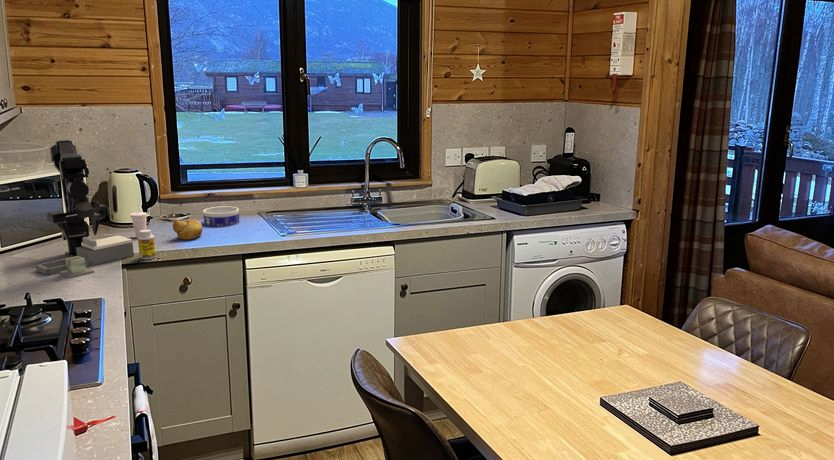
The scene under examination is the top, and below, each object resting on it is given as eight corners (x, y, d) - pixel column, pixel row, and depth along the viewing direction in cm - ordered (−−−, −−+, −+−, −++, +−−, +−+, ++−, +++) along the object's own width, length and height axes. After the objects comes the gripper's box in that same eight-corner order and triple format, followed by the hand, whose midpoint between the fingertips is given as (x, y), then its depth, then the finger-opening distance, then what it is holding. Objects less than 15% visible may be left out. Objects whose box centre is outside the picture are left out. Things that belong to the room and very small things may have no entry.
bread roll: (189, 232, 286) (188, 214, 284) (210, 234, 284) (208, 215, 282) (171, 240, 274) (169, 220, 272) (192, 241, 272) (191, 222, 270)
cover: (81, 245, 247) (80, 237, 246) (119, 237, 257) (118, 230, 256) (94, 250, 240) (93, 242, 240) (132, 242, 251) (131, 234, 250)
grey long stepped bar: (36, 270, 235) (34, 256, 234) (122, 251, 258) (120, 238, 257) (47, 275, 230) (45, 261, 229) (133, 255, 252) (132, 242, 251)
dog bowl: (247, 221, 306) (246, 208, 305) (220, 228, 294) (219, 214, 292) (223, 217, 314) (222, 204, 313) (196, 224, 301) (195, 211, 300)
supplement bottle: (141, 260, 246) (138, 233, 244) (138, 257, 251) (135, 230, 248) (157, 258, 249) (155, 231, 247) (154, 254, 254) (151, 228, 251)
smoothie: (152, 235, 281) (149, 202, 278) (140, 239, 275) (137, 205, 272) (141, 234, 284) (137, 201, 280) (129, 237, 278) (125, 204, 275)
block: (67, 271, 232) (65, 258, 231) (80, 268, 235) (78, 255, 234) (72, 274, 229) (71, 261, 228) (86, 270, 232) (84, 258, 231)
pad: (59, 273, 232) (59, 271, 232) (83, 267, 238) (83, 266, 238) (70, 278, 227) (69, 276, 227) (94, 272, 233) (93, 270, 233)
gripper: (57, 201, 220) (63, 247, 224) (114, 192, 233) (119, 236, 237) (43, 196, 227) (49, 241, 231) (99, 188, 240) (104, 230, 244)
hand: (81, 237), depth 236 cm, fingers open, 9 cm apart
